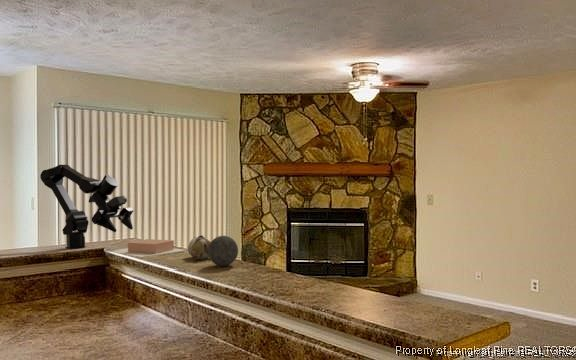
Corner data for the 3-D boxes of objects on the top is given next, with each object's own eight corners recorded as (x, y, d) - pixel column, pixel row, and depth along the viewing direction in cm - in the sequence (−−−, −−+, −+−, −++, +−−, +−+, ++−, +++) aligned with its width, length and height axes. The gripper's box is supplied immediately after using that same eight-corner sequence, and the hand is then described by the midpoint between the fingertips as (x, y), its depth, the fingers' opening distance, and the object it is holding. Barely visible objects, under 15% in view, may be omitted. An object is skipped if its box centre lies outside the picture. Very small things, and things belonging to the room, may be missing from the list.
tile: (127, 242, 205) (155, 244, 198) (146, 239, 214) (173, 240, 208) (128, 252, 205) (155, 253, 198) (147, 248, 215) (174, 249, 208)
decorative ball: (214, 269, 166) (213, 238, 166) (204, 265, 175) (203, 235, 175) (243, 266, 170) (242, 236, 170) (232, 262, 179) (231, 233, 179)
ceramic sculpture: (207, 231, 198) (223, 237, 185) (207, 253, 199) (224, 261, 186) (180, 234, 192) (195, 240, 180) (181, 257, 193) (196, 265, 180)
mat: (141, 258, 192) (141, 257, 192) (107, 252, 210) (107, 250, 210) (186, 251, 206) (186, 250, 206) (150, 246, 224) (150, 245, 224)
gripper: (96, 190, 206) (117, 218, 202) (129, 188, 223) (150, 214, 218) (82, 209, 210) (102, 238, 205) (116, 206, 227) (136, 232, 222)
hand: (124, 230), depth 213 cm, fingers open, 9 cm apart
